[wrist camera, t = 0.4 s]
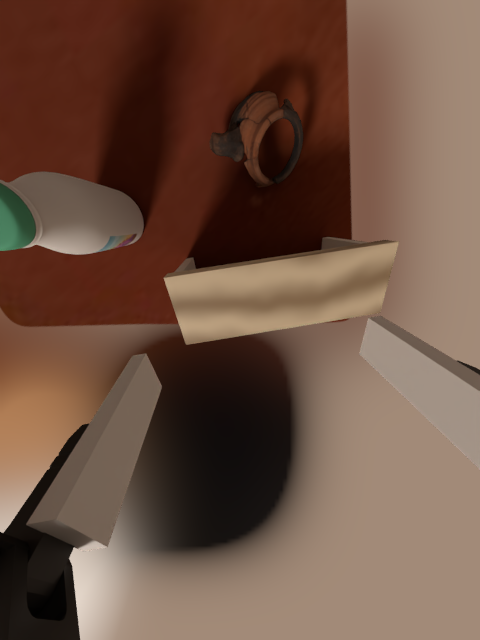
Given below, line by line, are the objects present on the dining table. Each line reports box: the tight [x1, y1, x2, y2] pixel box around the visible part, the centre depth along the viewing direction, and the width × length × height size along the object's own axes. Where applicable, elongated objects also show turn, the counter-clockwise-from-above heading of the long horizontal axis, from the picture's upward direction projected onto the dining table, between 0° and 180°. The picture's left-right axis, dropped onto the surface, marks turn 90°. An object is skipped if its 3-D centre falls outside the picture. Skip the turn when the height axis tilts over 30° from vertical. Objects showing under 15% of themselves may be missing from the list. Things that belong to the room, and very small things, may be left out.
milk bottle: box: [0, 172, 144, 254], centre depth 21 cm, size 8×8×20 cm
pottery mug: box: [210, 91, 303, 187], centre depth 25 cm, size 12×10×8 cm
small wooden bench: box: [164, 237, 399, 345], centre depth 29 cm, size 9×26×15 cm, turn 97°
